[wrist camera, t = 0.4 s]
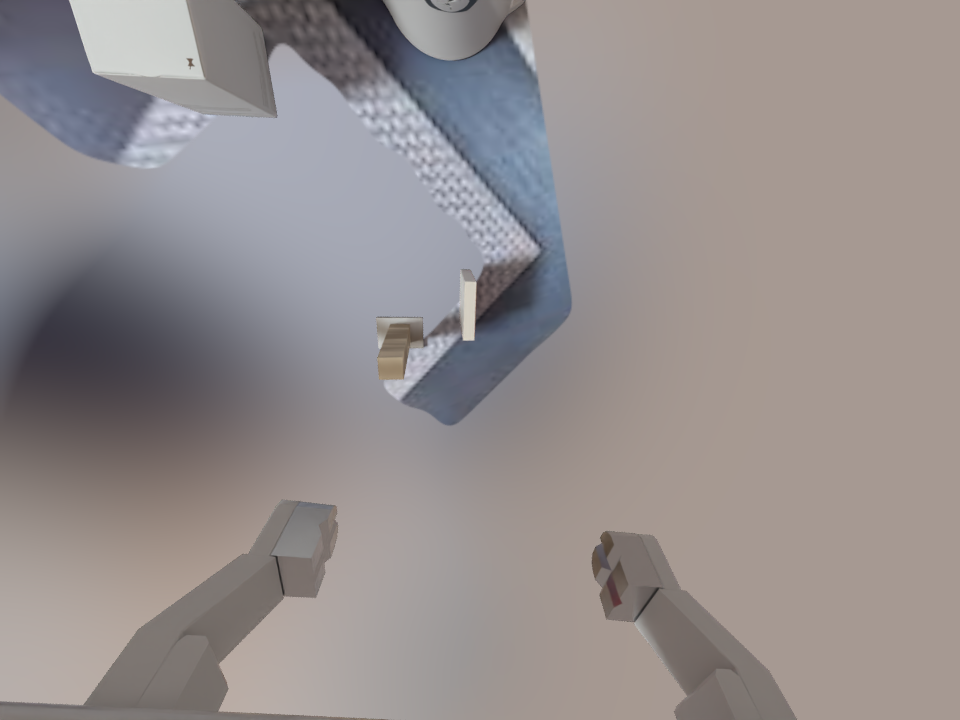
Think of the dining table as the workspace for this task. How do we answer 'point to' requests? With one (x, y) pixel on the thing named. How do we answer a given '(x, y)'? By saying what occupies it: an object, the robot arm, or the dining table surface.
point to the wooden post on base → (397, 344)
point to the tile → (467, 304)
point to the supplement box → (181, 52)
